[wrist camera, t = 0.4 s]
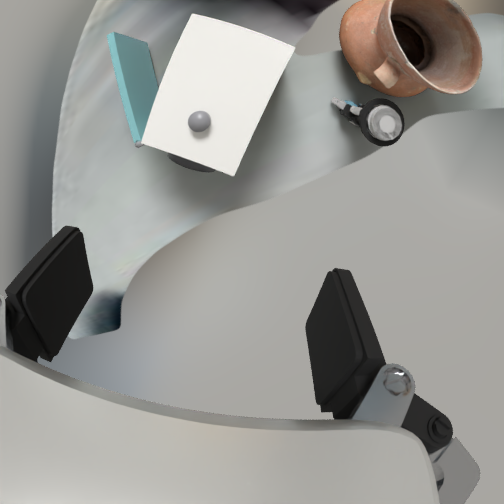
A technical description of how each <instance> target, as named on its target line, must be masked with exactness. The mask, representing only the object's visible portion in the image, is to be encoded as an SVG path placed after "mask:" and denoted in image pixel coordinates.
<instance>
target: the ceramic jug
mask: <svg viewBox="0 0 504 504" xmlns="http://www.w3.org/2000/svg"><path fill="white" fill-rule="evenodd" d="M339 38H340V44H341V48H342V51H343V54H344V56H345V58H346V60H347V62H348V63H349V65H350V66H351V68H352V69H353V70H354V72H355V74H356V76H357V77H358V79H359V81H360V82H361V83H363V84H367V85H369V86H371V87H372V88H374V89H376V90H378V91H380V92H382V93H385V94H387V95H391V96H396V97H409V96H414V95H416V94H419V93H421V92H422V91H424V90H425V89H427V88H430V89H433V90H435V91H438V92H442V93H447V94H462V93H465V92H467V91H468V90H470V89H471V88H472V87H473V86H474V85H475V83H476V82H477V80H478V78H479V75H480V71H481V67H482V48H481V43H480V39H479V36H478V34H477V32H476V30H475V28H474V27H473V24H472V22H471V20H470V18H469V17H468V16H467V14H466V13H465V12H464V10H463V9H462V8H461V7H460V6H459V5H458V4H457V3H456V2H455V1H453V0H362V1H359V2H357V3H355V4H354V5H352V6H351V7H350V8H349V9H348V10H347V11H346V12H345V14H344V15H343V18H342V20H341V25H340V32H339Z"/></svg>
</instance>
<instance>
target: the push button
mask: <svg viewBox="0 0 504 504" xmlns="http://www.w3.org/2000/svg"><path fill="white" fill-rule="evenodd" d="M336 101H337V102H336ZM331 102H332V103H333V104H335V105H337V107H338V108H340V111H341V114H342V115H344V116H346V117H348V118H349V119H351V120H352V121H349V122H350V123H352V124H353V125H356V126H359V127H361V131H362V133H363V134H364V136H365V137H366V138H367V139H368V140H369V141H370V142H372V143H373V144H376V145H378V146H389V145H392V144H394V143H395V142H397V141H398V139H400V137H401V136H402V133H403V130H404V118H403V114H402V112H401V110H400V109H399V108H398V106H397V105H396V104H394V103H393V102H391V101H389V100H387V99H374V100H371V101H369V102H368V103H367V104H366V105H362V104H359V105H360V107H359V106H358V105H356V104H355V103H353V102H352V101H346V100H345V102H344V101H341V100H339V99H337V98H334V97H333V99H332V100H331ZM378 104H383V105H380V106H377V105H378ZM370 133H371V134H373V136H375V137H376V138H374V137H373V136H372V135H371V134H370Z"/></svg>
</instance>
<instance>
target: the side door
mask: <svg viewBox="0 0 504 504" xmlns="http://www.w3.org/2000/svg"><path fill="white" fill-rule="evenodd" d="M107 38H108V43H109V48H110V53H111V57H112V62H113V66H114V71H115V75H116V79H117V83H118V87H119V91H120V95H121V99H122V102H123V106H124V110H125V113H126V117H127V120H128V124H129V127H130V130H131V134H132V137H133V140H134V143H135V146H136V147H138V148H139V147H141V146H143V145H145V144H142V143H141V141H142V138H143V135H144V131H145V128H146V125H147V122H148V118H149V115H150V112H151V109H152V106H153V104H154V101H155V98H156V95H157V92H158V90H159V89H158V85H157V81H156V77H155V73H154V69H153V65H152V61H151V57H150V53H149V48H148V44H147V43H146V42H143V41H140V40H137V39H134V38H131V37H128V36H125V35H122V34H119V33H115V32H113V33H111V34H109V35H107Z"/></svg>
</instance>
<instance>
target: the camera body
mask: <svg viewBox="0 0 504 504" xmlns="http://www.w3.org/2000/svg"><path fill="white" fill-rule="evenodd" d="M294 50H295V47H293V46H291V45H288V44H286V43H284V42H281V41H279V40H276V39H274V38H271V37H269V36H266V35H264V34H261V33H258V32H255V31H253V30H250V29H247V28H244V27H241V26H238V25H234V24H231V23H228V22H224V21H221V20H217V19H213V18H210V17H205V16H201V15H197V14H193V13H192V15H191V17H190V19H189V21H188V23H187V25H186V27H185V29H184V31H183V33H182V35H181V37H180V39H179V41H178V44H177V46H176V48H175V50H174V52H173V55H172V57H171V59H170V62H169V64H168V67H167V69H166V71H165V74H164V76H163V79H162V82H161V84H160V87H159V90H158V92H157V95H156V98H155V101H154V104H153V106H152V109H151V112H150V115H149V118H148V122H147V125H146V128H145V131H144V135H143V138H142V141H141V143H142V144H145V145H148V146H151V147H154V148H157V149H160V150H163V151H166V152H168V157H169V158H170V159H171V160H172V161H173V162H175V163H177V164H179V165H181V166H183V167H186V168H189V169H192V170H196V171H201V172H213V171H215V170H218V171H221V172H223V173H226V174H229V175H231V176H234V175H235V173H236V171H237V169H238V166H239V164H240V162H241V159H242V157H243V155H244V153H245V151H246V148H247V146H248V144H249V142H250V140H251V137H252V135H253V133H254V131H255V129H256V127H257V124H258V122H259V120H260V118H261V116H262V114H263V112H264V110H265V107H266V105H267V103H268V101H269V99H270V97H271V95H272V93H273V91H274V89H275V87H276V85H277V83H278V81H279V79H280V77H281V75H282V73H283V71H284V69H285V67H286V65H287V63H288V61H289V59H290V57H291V55H292V53H293V52H294Z"/></svg>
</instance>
